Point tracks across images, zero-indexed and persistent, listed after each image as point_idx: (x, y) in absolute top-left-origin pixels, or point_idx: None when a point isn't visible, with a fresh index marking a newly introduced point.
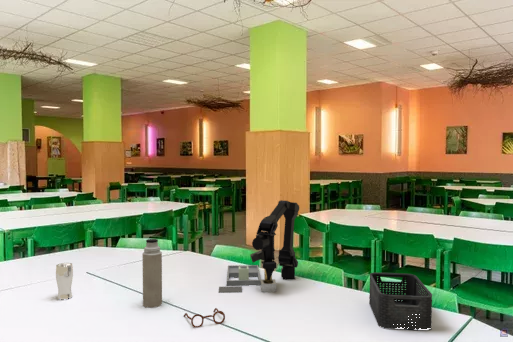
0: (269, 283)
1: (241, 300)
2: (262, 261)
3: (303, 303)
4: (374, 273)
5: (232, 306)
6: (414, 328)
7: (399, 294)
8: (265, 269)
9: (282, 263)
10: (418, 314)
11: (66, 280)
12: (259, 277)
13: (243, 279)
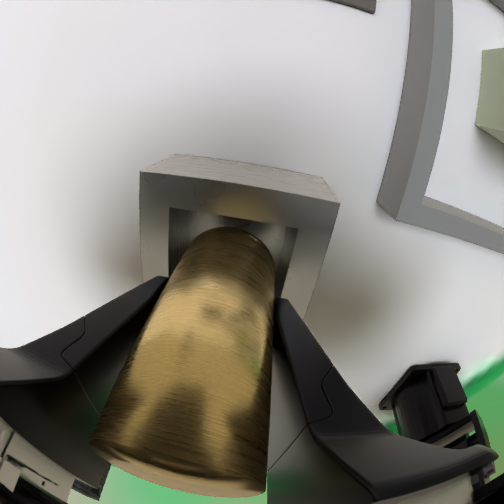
0: (156, 268)
1: (44, 17)
2: (476, 471)
3: (36, 327)
4: (83, 493)
5: (3, 6)
6: None
7: (106, 467)
8: (7, 350)
9: (452, 443)
10: None
11: None
12: (474, 232)
13: (498, 85)
